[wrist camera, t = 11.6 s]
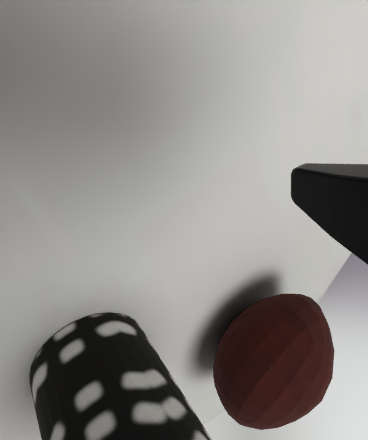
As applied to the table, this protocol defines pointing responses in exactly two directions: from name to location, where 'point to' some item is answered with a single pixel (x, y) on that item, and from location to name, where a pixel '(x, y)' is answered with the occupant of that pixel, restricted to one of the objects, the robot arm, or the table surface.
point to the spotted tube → (108, 386)
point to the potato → (274, 361)
